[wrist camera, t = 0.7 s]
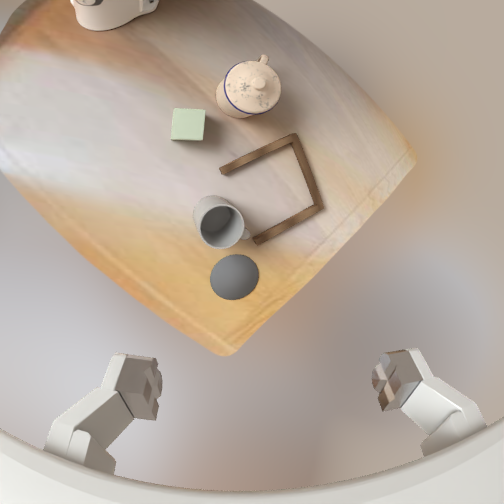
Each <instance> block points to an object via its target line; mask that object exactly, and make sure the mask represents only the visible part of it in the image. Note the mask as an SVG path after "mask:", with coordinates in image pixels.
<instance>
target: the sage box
mask: <svg viewBox="0 0 504 504" xmlns="http://www.w3.org/2000/svg"><path fill="white" fill-rule="evenodd" d="M204 121H205V110H200V109H179V108H174V111H173V119H172V131H171V140H191V141H200V140H203V132H204Z"/></svg>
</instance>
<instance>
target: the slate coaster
mask: <svg viewBox="0 0 504 504" xmlns="http://www.w3.org/2000/svg"><path fill="white" fill-rule="evenodd" d="M257 281H258V269H257V266H256V265H255V263H254V262H253V261H252V260H251V259H250V258H248V257H246V256H244V255H230V256H227V257H225V258H223V259H221V260H220V261H219V262H218V263H217V264H216V265H215V266H214V268H213V270H212V272H211V276H210V283H211V286H212V289H213V290H214V292H215V293H216V294H217V295H218V296H220V297H222V298H224V299H228V300H236V299H240V298H243V297H245V296H246V295H248V294H249V293H250V292H251V291H252V290H253V289H254V288H255V286H256V284H257Z"/></svg>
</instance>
